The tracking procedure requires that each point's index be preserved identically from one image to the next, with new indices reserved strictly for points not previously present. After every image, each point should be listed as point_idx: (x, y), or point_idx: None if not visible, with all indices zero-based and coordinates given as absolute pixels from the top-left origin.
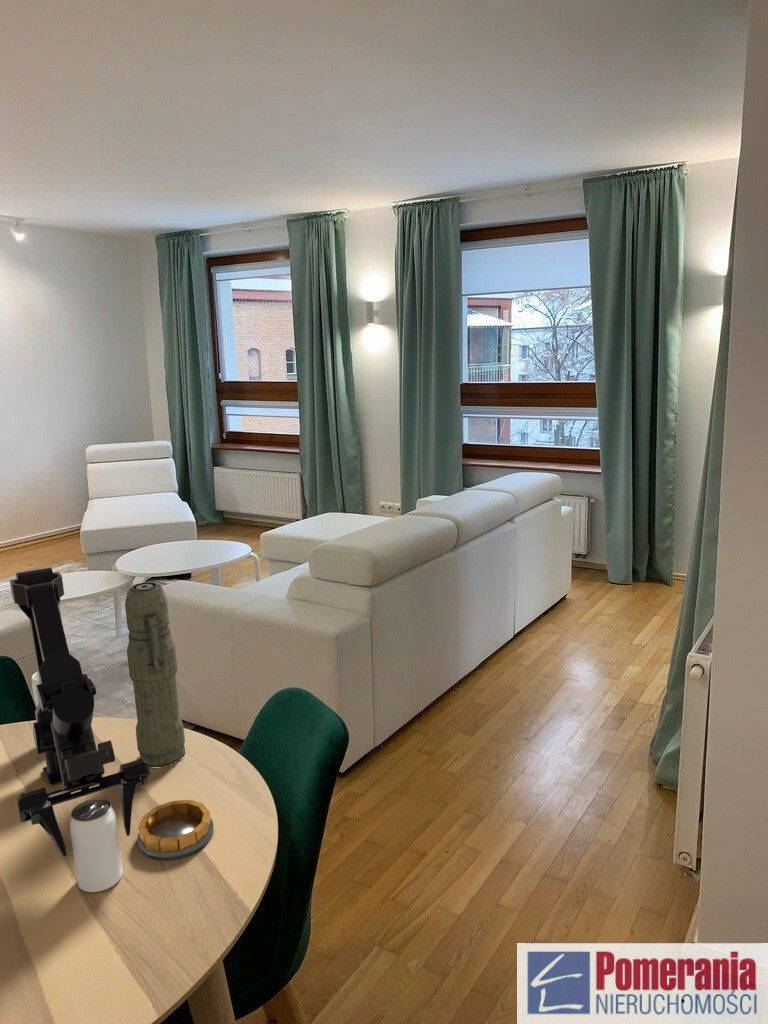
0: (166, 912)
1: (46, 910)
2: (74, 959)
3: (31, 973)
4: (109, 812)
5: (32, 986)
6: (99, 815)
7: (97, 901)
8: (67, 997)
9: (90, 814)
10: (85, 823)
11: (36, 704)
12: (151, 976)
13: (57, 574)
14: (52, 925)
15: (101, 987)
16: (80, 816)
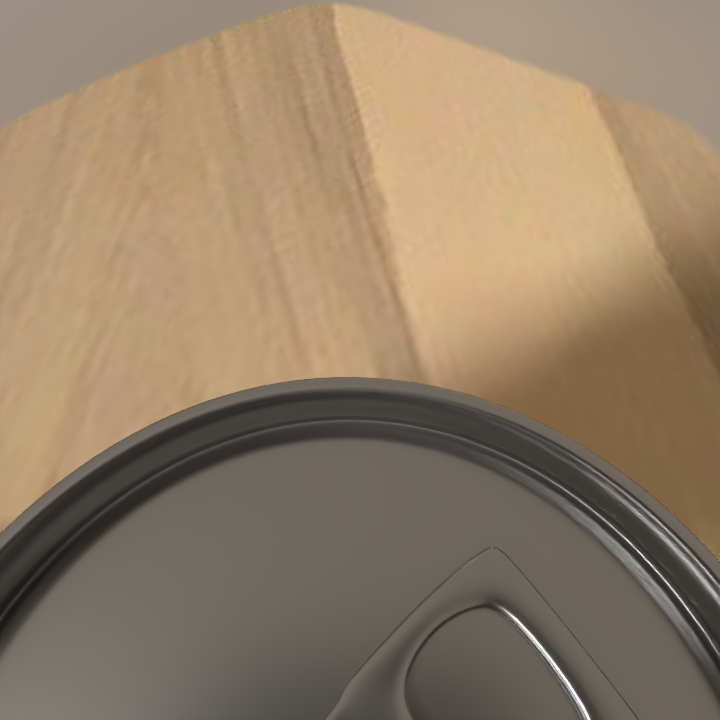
0: (164, 281)
1: None
2: (525, 231)
3: (674, 241)
4: (29, 566)
5: (661, 192)
6: (230, 531)
7: None
8: (547, 116)
9: (392, 675)
10: (511, 450)
11: None
12: (310, 82)
13: None
14: (622, 449)
15: (449, 106)
16: (625, 713)
